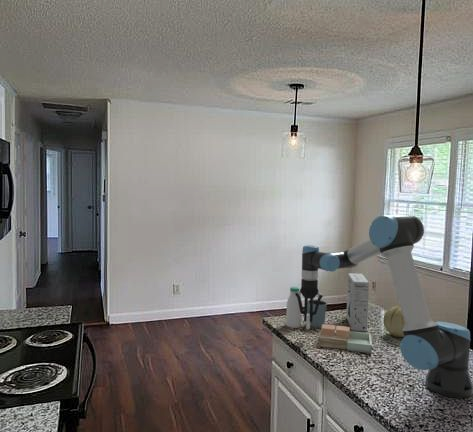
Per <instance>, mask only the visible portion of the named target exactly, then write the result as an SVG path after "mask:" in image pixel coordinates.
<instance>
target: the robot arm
mask: <svg viewBox="0 0 473 432" xmlns="http://www.w3.org/2000/svg"><path fill="white" fill-rule="evenodd" d="M368 229H369V230H368V235H369V236H368V237H369V239H368V240H366V241H363V242H361V243H359V244H357V245H355V246H352V247H350V248H349V249H345V250H343V251H333V252H322V251H320V248H319V246H318V245H312V244H311V245H309V244H308V245H307V244H306V245H304V246H302V251H301V280H300V281H301V283H300V285H301V286H300V287H301V288H299V291H298V292H296V293H295V295H296V296H297V299H298V303H299V308H300V313H302V314H303V321H304V322H305V323H306V324H305V330H310V329H311V326H310V322H312V320H313V315H316V313H317V310H318V306H319V303H320V300H321V301H322V298H323V297H324V294H323V293H321V292H319V289H318V284H319V280H318V278H319V270H323V271H326V272H332V273H333V272H335V271H337V270H340V269H351V268H356V267H357V266H359V264H360V263H363V262H366V261H368V260H370V259H373V258H375V257H377V256H380V255H381V256H383V257H384V258H386V261H387V264H388V267H389V271H390V274H391V278H392V282H393V285H394V289H395V293H396V295H397V296H396V297H397V299H398V304H399V307H401V310H402V314H403V318H404V321H405V326H404V328H403V330H402V331H403V334H404V337H402V339H401V342H400V344H399V345H400V346H399V350H400V353H401V355H402V357H403V359H404V360H405V362H406V363H407V364H408V365H410V366H411V367H412V368H414V369H416V370H419V371H425V370H427V371H428V372H427V373H426V375H425V376H426V377H425V386H426V387H427V389H429V390H430V391H432V392H434V393H436V394H438V395H442V396H444V397H449V398H453V399H467V398H470V397H472V396H473V381H472V379H471V375H470V372H469V367H470V366H469V365H470V364H469V363H470V352H471V351H470V350H471V349H470V348H471V341H472V340H471V331H470V329H468V328H466V327H464V326H463V325H460V324H456V323H451V322H445V321H433V319H432V317H431V315H430V310H429V307H428V304H427V300H426V298H425V293H424V291H423V288H422V287H423V286H422V285H421V281H420V278H419V275H418V271H417V268H416V264H415V261H414V258H413V254H412V251H413V250H414V248H415V245H416V244H417V243H419V242H421V240H422V238H423V236H424V235H425V227H424V224H423V221H421V219H420V218H418V217H417V216H415V215H413V214H389V213H387V214H384V215H383V214H382V215H378V216H377V217H375V218H374V219H373V221H372V222H371V225H370V226H369V228H368ZM301 295H302V296H303V299H304V302H302V297H301ZM316 296H317V299H316V300H317V303H316V307H315V310H314V311H313V300H314V299H315V298H316ZM308 300H310V314H307V313H308V311H307V307H308ZM303 303H304V306H303Z"/></svg>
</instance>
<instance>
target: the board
mask: <svg viewBox="0 0 473 432" xmlns="http://www.w3.org/2000/svg"><path fill="white" fill-rule="evenodd" d="M347 342H348V337H339V336H336V328H335V336H330V335H321V332H320V333H319V338H318V347H324V348H333V349H339V350H340V349H341V350H347Z"/></svg>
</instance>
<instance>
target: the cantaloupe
mask: <svg viewBox="0 0 473 432" xmlns="http://www.w3.org/2000/svg"><path fill="white" fill-rule="evenodd" d="M382 321H383V326H384V329H385V330H386V331H387V332H388V333H389V334H390V335H392V336H393V337H396V338H404V334H403V331H402V330H403V328H404V326H405V321H404V318H403V314H402V310H401V307H400V305H399V306H398V305H397V306H396V305H394V306H391V307H390V308H388V309H387V310H386V312H385V313H384V315H383V320H382Z"/></svg>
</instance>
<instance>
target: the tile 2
mask: <svg viewBox="0 0 473 432" xmlns="http://www.w3.org/2000/svg"><path fill="white" fill-rule="evenodd" d="M335 329H336V336H339V337H347V339H348V338H349V336H350V331H351V327H350V326H344V325H336V326H335Z"/></svg>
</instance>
